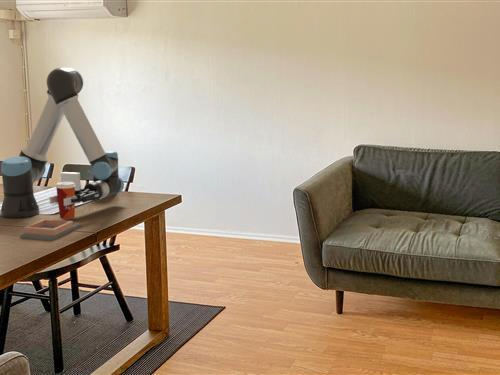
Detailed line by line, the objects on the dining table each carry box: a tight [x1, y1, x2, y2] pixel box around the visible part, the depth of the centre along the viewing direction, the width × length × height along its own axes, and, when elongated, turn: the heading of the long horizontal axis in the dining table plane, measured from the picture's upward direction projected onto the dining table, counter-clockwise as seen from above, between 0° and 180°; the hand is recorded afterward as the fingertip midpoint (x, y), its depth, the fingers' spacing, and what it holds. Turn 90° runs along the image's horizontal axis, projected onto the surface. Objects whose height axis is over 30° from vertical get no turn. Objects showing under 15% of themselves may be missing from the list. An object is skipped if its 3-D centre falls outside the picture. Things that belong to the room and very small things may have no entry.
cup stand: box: [19, 218, 82, 242], centre depth 230 cm, size 13×20×3 cm, turn 164°
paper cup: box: [55, 181, 76, 220], centre depth 246 cm, size 8×8×14 cm
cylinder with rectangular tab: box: [60, 171, 82, 190], centre depth 287 cm, size 9×9×12 cm
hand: (57, 201), depth 241 cm, fingers closed on paper cup, 7 cm apart
